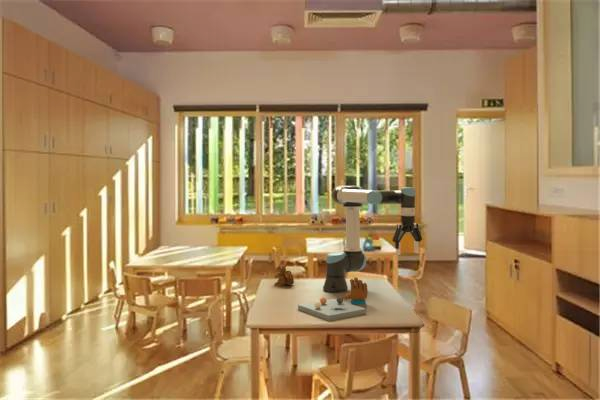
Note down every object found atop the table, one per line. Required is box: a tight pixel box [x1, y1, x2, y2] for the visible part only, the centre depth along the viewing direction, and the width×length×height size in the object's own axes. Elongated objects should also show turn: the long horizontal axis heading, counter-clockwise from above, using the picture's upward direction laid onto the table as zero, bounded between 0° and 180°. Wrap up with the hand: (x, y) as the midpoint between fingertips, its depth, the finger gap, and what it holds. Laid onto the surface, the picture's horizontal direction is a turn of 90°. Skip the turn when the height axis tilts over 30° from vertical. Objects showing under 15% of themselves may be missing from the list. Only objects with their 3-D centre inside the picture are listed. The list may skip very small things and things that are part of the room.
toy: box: [344, 276, 368, 305], centre depth 274 cm, size 12×7×15 cm, turn 71°
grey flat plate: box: [297, 298, 367, 322], centre depth 257 cm, size 26×24×2 cm
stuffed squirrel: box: [274, 264, 295, 286], centre depth 324 cm, size 10×14×13 cm
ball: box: [319, 296, 328, 304], centre depth 262 cm, size 4×4×4 cm
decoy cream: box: [315, 301, 321, 309], centre depth 253 cm, size 4×4×4 cm
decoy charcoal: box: [336, 296, 344, 304], centre depth 264 cm, size 4×4×4 cm
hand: (407, 253), depth 274 cm, fingers open, 13 cm apart
